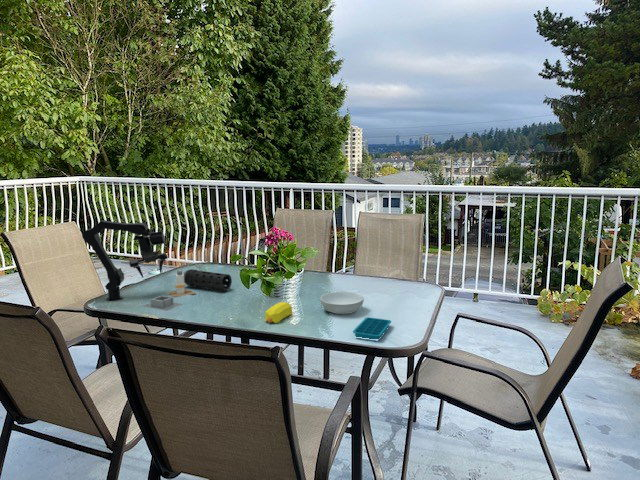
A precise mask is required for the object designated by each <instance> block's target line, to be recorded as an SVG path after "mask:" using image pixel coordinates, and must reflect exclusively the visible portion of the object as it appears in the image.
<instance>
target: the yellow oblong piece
mask: <svg viewBox="0 0 640 480" xmlns="http://www.w3.org/2000/svg"><path fill="white" fill-rule="evenodd" d="M292 314H293V308H292V305H291V304H290V302H284V301H280V302H278V303H275V304H273V305H272V306H271V307H269V308H268V309H267V310H266V311H265V313H264V321H265V322H267V323H268V324H269V323H270V324H271V323H274V324H278V323H279V322H281V320H283V319H284V318H285V319H286V318H287V317H289V316H291V315H292Z"/></svg>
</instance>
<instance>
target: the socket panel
mask: <svg viewBox="0 0 640 480" xmlns="http://www.w3.org/2000/svg"><path fill="white" fill-rule="evenodd" d="M182 305H183V303H178V302H174V297H173V296H168V295H160V296H157V297H153V298H151V299H150V302H149V303H147V304H144V305H142V307H143V308H144V307H145V308H150V309H156V310H162V311H165V312H166V311H169V310H172V309H174V308H177V307H179V306H182Z"/></svg>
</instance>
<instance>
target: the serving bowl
mask: <svg viewBox="0 0 640 480" xmlns="http://www.w3.org/2000/svg"><path fill="white" fill-rule="evenodd" d="M319 299H320V304H321V305H322V307H323V308H324V309H325V310H326V311H328V312H330V313H333V314H338V315H347V314H351V313H355V312H357V311H359V310H360V309H361V307H362V306H363V304H364V301H365V300H364V299H365V297H364V296H363V294H360V293H356V292H352V291H342V290H340V291H332V292H331V291H330V292H327V293H324V294H322V295H321V296H320V298H319Z"/></svg>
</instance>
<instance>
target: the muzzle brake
mask: <svg viewBox="0 0 640 480" xmlns="http://www.w3.org/2000/svg"><path fill="white" fill-rule="evenodd" d="M183 274H184V283H185V285H186V286H188V287H189V286H190V287H195V288H196V289H202V288H203V289H204V288H205V289H208V290H212V291H217V292H218V291H219V292H223V293H224V292H225V293H226V292H228V291H229V290H230V288H231V286H232V276H231V275H230V274H229V273H228V274H227V273H220V272H214V271H213V272H211V271H203V270H198V269H192V268H191V269H187V270H185V271H184V272H183Z"/></svg>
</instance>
